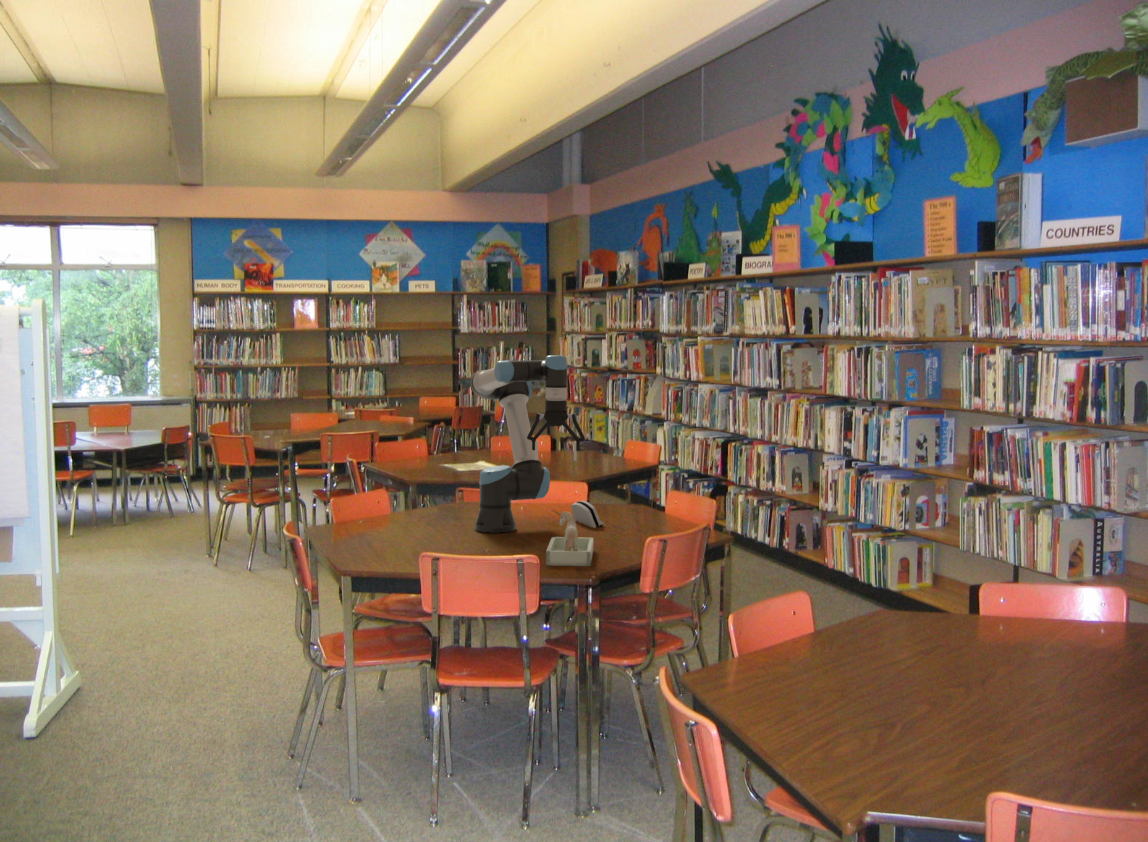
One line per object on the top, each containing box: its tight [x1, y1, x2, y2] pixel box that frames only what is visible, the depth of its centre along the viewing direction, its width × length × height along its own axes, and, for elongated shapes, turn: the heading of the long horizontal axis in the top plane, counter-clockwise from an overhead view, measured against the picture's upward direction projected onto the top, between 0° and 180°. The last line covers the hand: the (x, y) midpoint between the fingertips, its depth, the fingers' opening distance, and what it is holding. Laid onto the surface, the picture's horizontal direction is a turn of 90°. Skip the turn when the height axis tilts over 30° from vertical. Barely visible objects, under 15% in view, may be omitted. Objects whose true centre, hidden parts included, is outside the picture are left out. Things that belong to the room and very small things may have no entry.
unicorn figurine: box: [551, 509, 579, 551], centre depth 318 cm, size 7×20×13 cm, turn 16°
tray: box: [545, 536, 594, 567], centre depth 317 cm, size 14×22×4 cm, turn 176°
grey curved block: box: [570, 500, 606, 529], centre depth 375 cm, size 17×5×10 cm, turn 26°
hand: (555, 460), depth 341 cm, fingers open, 13 cm apart
